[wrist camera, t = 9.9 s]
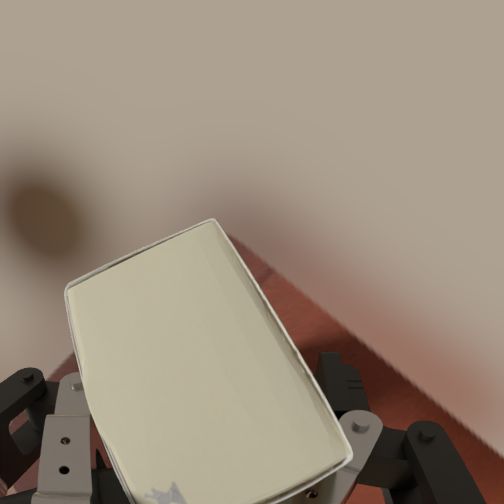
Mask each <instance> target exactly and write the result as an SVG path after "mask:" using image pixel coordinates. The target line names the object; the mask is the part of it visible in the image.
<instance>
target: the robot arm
mask: <svg viewBox="0 0 504 504" xmlns="http://www.w3.org/2000/svg"><path fill="white" fill-rule="evenodd" d="M315 379H316V381H317V383H318V384H319V386H320V388H321V389H322V391H323V393H324V395H325V397H326V399H327V400H328V402H329V404H330V406H331V408H332V410H333V412H334V414H335V415H336V417H337V419H338V421H339V423H340V424H341V426H342V428H343V431H344V433H345V435H346V437H347V438H348V440H349V442H350V444H351V446H352V448H353V451H354V456H353V460H352V461H351V462H350V463H348V464H347V465H346V466H344V467H342V468H341V469H339V470H337V471H336V472H334V473H333V474H331V475H329V476H328V477H326V478H324V479H323V480H321V481H319V482H318V483H316V484H315V485H313V486H311V487H309V488H307V489H305V490H304V491H302V492H300V493H298V494H296V495H294V496H291V497H289V498H287V499H285V500H283V501H281V502H279V503H276V504H345V503H346V502H347V500H348V499H349V497H350V495H351V494H352V492H353V490H354V489H355V487H356V485H357V483H358V484H363V485H369V486H375V487H381V490H382V493H383V496H384V499H385V503H386V504H486V502H485V500H484V498H483V496H482V495H481V493H480V491H479V489H478V487H477V485H476V483H475V482H474V480H473V478H472V476H471V474H470V473H469V471H468V469H467V467H466V466H465V464H464V462H463V460H462V459H461V457H460V455H459V454H458V452H457V450H456V448H455V447H454V445H453V443H452V442H451V440H450V438H449V437H448V435H447V433H446V432H445V430H444V429H443V428H442V427H441V426H440V425H438V424H437V423H434V422H431V421H417V422H415V423H413V424H411V425H410V426H409V428H408V430H407V431H403V430H397V429H391V428H387V427H385V426H383V424H382V421H381V420H380V418H379V417H378V416H376V415H375V414H373V413H371V411H370V408H369V405H368V401H367V398H366V395H365V391H364V389H363V385H362V382H361V378H360V375H359V372H358V371H357V370H356V369H355V368H354V367H353V366H352V365H342V362H341V358H340V354H339V352H320V354H319V359H318V365H317V371H316V376H315ZM23 410H24V411H25V413H26V415H27V418H28V421H27V422H25V423H24V424H23V425H22V426H21V427H20V428H19V429H17V430H16V431H15V432H14V433H13V434H12V435H10V433H9V424H10V422H11V421H12V420H13V419H14V418H15V417H16V416H18V415H19V414H20V413H21V412H22V411H23ZM39 457H40V464H39V475H38V487H37V488H34V489H30V490H27V491H23V492H20V493H16V494H12V495H8V496H6V495H7V490H8V489H9V488H10V487H11V486H12V485H13V484H14V483H15V482H16V481H17V480H18V479H19V478H20V477H21V476H22V475H23V474H24V473H25V472H26V471H27V470H28V469H29V468H30V466H31V465H32V464H33V463H34V462H35V461H36V460H37V459H38V458H39ZM0 504H131V503H130V501H129V499H128V497H127V495H126V493H125V491H124V489H123V487H122V485H121V483H120V481H119V479H118V477H117V475H116V473H115V470H114V468H113V466H112V463H111V461H110V458H109V456H108V454H107V451H106V449H105V446H104V444H103V441H102V439H101V436H100V434H99V432H98V429H97V427H96V424H95V422H94V419H93V417H92V414H91V412H90V409H89V406H88V403H87V399H86V396H85V391H84V387H83V383H82V379H81V375H80V372H76V373H71V374H68V375H66V376H65V377H63V378H62V379H61V381H60V382H50V381H45V379H44V377H43V373H42V372H41V371H40V370H39V369H36V368H24V369H21V370H19V371H17V372H16V373H14V374H13V375H11V376H10V377H8V378H7V379H6V380H4V381H3V382H1V383H0Z"/></svg>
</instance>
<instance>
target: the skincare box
mask: <svg viewBox="0 0 504 504" xmlns="http://www.w3.org/2000/svg"><path fill="white" fill-rule="evenodd" d="M64 298H65V304H66V309H67V315H68V321H69V326H70V331H71V336H72V341H73V346H74V350H75V354H76V358H77V362H78V366H79V371H80V375H81V379H82V383H83V387H84V391H85V396H86V399H87V403H88V406H89V409H90V412H91V414H92V417H93V419H94V422H95V424H96V427H97V429H98V432H99V434H100V436H101V439H102V441H103V444H104V446H105V449H106V451H107V454H108V456H109V458H110V461H111V463H112V466H113V468H114V470H115V473H116V475H117V477H118V479H119V481H120V483H121V485H122V487H123V489H124V491H125V493H126V495H127V497H128V499H129V501H130V503H131V504H276V503H279V502H281V501H283V500H285V499H287V498H289V497H291V496H294V495H296V494H298V493H300V492H302V491H304V490H305V489H307V488H309V487H311V486H313V485H315V484H316V483H318V482H319V481H321V480H323V479H324V478H326V477H328V476H329V475H331V474H333V473H334V472H336V471H337V470H339V469H341V468H342V467H344V466H346V465H347V464H348V463H350V462H351V461H352V460H353V456H354V451H353V448H352V446H351V444H350V442H349V440H348V438H347V437H346V435H345V433H344V431H343V428H342V426H341V424H340V423H339V421H338V419H337V417H336V415H335V414H334V412H333V410H332V408H331V406H330V404H329V402H328V400H327V399H326V397H325V395H324V393H323V391H322V389H321V388H320V386H319V384H318V383H317V381H316V379H315V377H314V376H313V374H312V372H311V370H310V369H309V367H308V365H307V364H306V362H305V360H304V359H303V357H302V355H301V354H300V352H299V350H298V348H297V347H296V345H295V344H294V342H293V341H292V339H291V337H290V335H289V334H288V332H287V330H286V329H285V327H284V325H283V324H282V322H281V321H280V319H279V317H278V316H277V314H276V312H275V311H274V309H273V307H272V306H271V304H270V302H269V301H268V299H267V297H266V296H265V294H264V293H263V291H262V289H261V288H260V286H259V285H258V283H257V282H256V280H255V278H254V277H253V275H252V273H251V272H250V270H249V269H248V267H247V265H246V264H245V262H244V261H243V259H242V258H241V256H240V255H239V253H238V252H237V250H236V248H235V247H234V245H233V244H232V242H231V241H230V239H229V238H228V236H227V235H226V233H225V232H224V230H223V229H222V227H221V225H220V224H219V222H218V220H216V219H214V218H210V219H208V220H205V221H203V222H200V223H198V224H196V225H194V226H191V227H189V228H187V229H185V230H182V231H180V232H177V233H175V234H172V235H170V236H167V237H165V238H163V239H161V240H158V241H156V242H154V243H152V244H149V245H146V246H144V247H142V248H140V249H138V250H136V251H134V252H132V253H130V254H127V255H125V256H123V257H121V258H119V259H116V260H114V261H113V262H110V263H108V264H106V265H103V266H101V267H99V268H97V269H95V270H94V271H92V272H89V273H88V274H85V275H83V276H81V277H79V278H77V279H75V280H73V281H71V282H69V283H68V285H67V286H66V288H65V291H64Z"/></svg>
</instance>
